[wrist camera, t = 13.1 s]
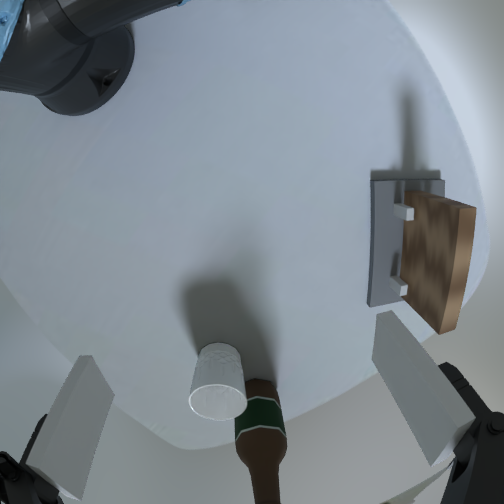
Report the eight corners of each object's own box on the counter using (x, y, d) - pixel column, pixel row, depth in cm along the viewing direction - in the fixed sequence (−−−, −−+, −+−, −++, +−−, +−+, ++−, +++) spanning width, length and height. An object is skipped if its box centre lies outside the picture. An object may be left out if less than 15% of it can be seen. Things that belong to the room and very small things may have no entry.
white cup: (248, 343, 43) (253, 388, 34) (238, 378, 46) (241, 423, 36) (198, 335, 42) (191, 379, 33) (192, 371, 45) (186, 416, 35)
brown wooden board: (404, 190, 36) (459, 208, 24) (424, 190, 36) (480, 207, 24) (397, 293, 41) (438, 334, 30) (416, 289, 41) (459, 327, 30)
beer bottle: (286, 389, 47) (312, 507, 25) (257, 410, 49) (269, 522, 26) (254, 370, 45) (268, 500, 23) (225, 394, 47) (225, 515, 24)
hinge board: (370, 180, 36) (386, 184, 32) (440, 179, 37) (459, 183, 32) (366, 303, 43) (379, 319, 38) (430, 290, 43) (445, 302, 38)
